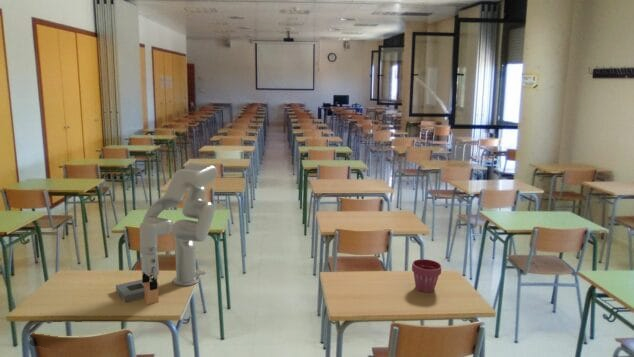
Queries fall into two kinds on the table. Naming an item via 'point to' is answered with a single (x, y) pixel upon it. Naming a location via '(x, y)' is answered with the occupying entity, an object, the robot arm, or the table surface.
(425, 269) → the plant pot
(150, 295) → the plug
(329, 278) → the table surface
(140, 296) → the socket plate
